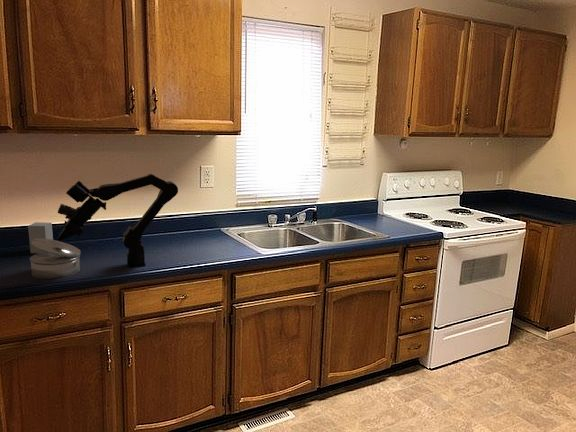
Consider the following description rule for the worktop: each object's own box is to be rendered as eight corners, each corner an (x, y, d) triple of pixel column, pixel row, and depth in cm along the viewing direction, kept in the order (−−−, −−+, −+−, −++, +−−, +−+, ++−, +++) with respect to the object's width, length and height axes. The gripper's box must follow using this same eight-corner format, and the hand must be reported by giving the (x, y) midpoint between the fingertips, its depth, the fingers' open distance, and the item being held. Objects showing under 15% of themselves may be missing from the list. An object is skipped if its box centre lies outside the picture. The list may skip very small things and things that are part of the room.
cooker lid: (79, 248, 196) (80, 246, 196) (80, 260, 181) (81, 257, 181) (32, 237, 188) (33, 235, 188) (30, 248, 173) (30, 246, 173)
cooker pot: (79, 258, 204) (78, 244, 203) (81, 275, 182) (80, 260, 181) (33, 262, 197) (32, 247, 196) (29, 281, 175) (28, 264, 173)
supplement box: (54, 249, 217) (52, 222, 214) (46, 253, 209) (44, 225, 207) (37, 249, 216) (35, 221, 214) (29, 253, 209) (27, 225, 207)
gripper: (69, 193, 191) (41, 222, 189) (70, 200, 175) (39, 232, 172) (92, 211, 196) (64, 239, 194) (95, 220, 180) (65, 251, 177)
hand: (58, 240), depth 184 cm, fingers closed
